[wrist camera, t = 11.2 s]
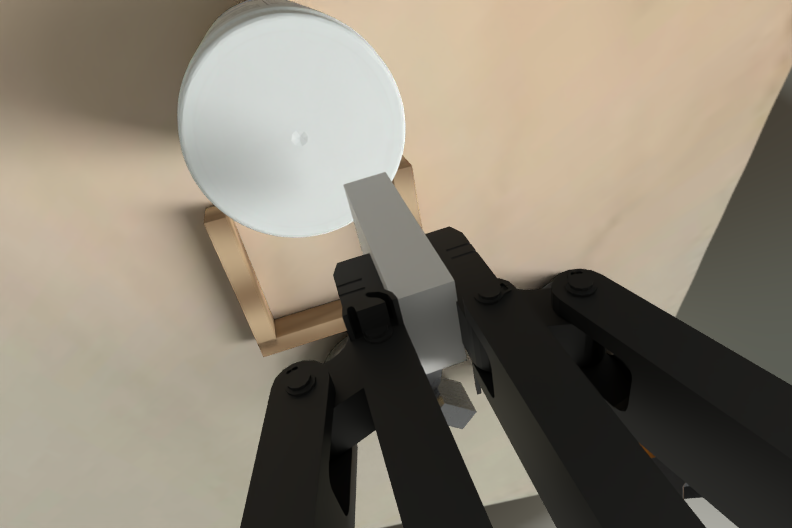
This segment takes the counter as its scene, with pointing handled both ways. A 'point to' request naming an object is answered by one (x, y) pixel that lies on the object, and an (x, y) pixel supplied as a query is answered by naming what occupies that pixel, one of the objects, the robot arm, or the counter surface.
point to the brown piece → (250, 295)
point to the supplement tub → (287, 117)
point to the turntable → (439, 394)
